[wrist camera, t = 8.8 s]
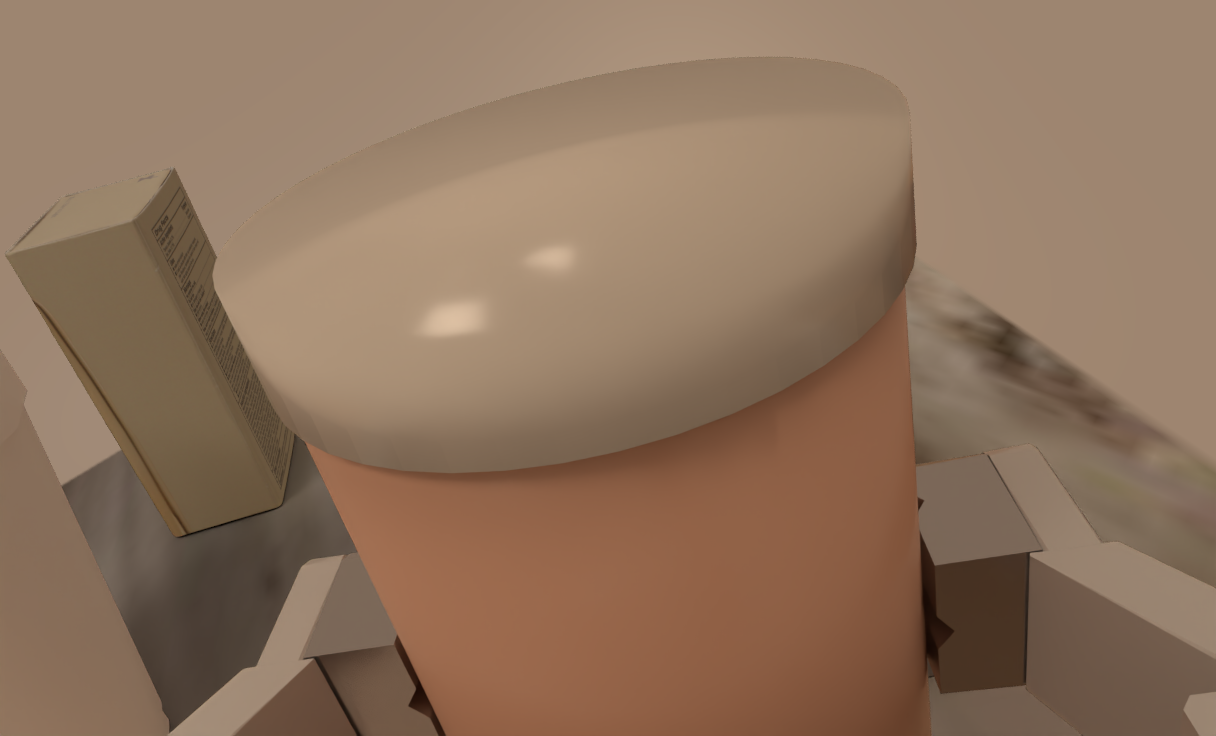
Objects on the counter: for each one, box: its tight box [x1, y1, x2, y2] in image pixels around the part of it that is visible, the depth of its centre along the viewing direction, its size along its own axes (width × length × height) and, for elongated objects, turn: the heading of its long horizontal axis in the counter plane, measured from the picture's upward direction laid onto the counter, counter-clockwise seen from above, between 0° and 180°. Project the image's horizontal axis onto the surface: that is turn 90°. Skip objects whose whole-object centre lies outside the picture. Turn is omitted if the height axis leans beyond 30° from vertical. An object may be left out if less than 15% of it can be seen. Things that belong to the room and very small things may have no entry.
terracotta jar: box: [212, 57, 932, 736], centre depth 10 cm, size 5×5×11 cm
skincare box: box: [5, 167, 295, 537], centre depth 34 cm, size 6×4×12 cm
